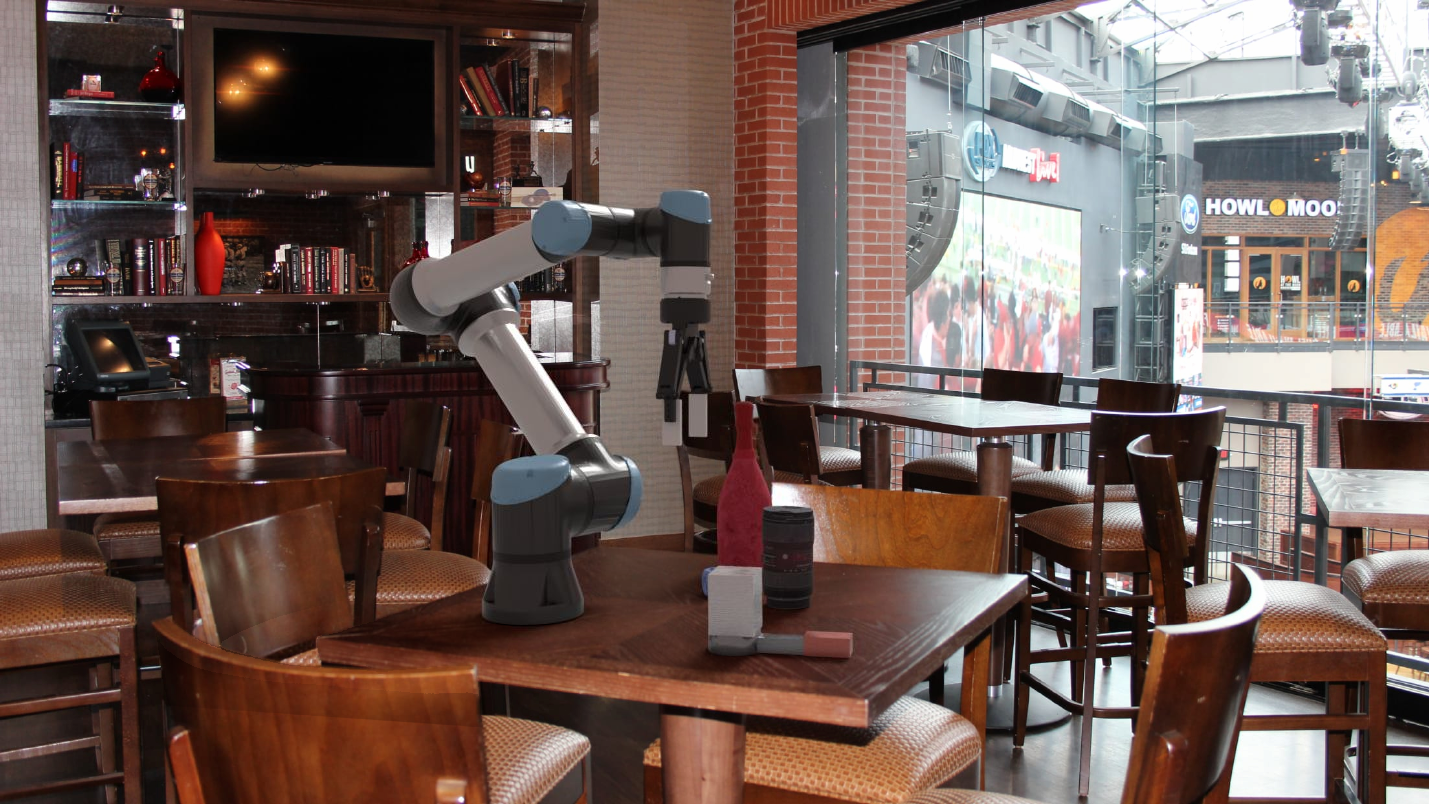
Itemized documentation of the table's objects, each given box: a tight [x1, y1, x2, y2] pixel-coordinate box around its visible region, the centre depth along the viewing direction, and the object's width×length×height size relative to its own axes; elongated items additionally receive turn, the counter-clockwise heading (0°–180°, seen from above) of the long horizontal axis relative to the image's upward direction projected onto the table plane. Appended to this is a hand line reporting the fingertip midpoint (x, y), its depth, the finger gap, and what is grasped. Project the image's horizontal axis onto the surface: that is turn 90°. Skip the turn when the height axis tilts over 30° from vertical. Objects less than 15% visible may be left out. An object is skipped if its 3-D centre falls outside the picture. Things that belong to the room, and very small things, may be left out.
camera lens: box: [761, 505, 816, 610], centre depth 189 cm, size 8×8×15 cm
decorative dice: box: [701, 566, 717, 597], centre depth 197 cm, size 4×4×4 cm
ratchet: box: [707, 628, 854, 659], centre depth 162 cm, size 19×7×6 cm, turn 77°
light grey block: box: [707, 565, 763, 637], centre depth 163 cm, size 6×6×8 cm
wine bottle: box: [716, 400, 773, 571], centre depth 214 cm, size 10×10×30 cm
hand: (685, 441), depth 182 cm, fingers open, 13 cm apart
